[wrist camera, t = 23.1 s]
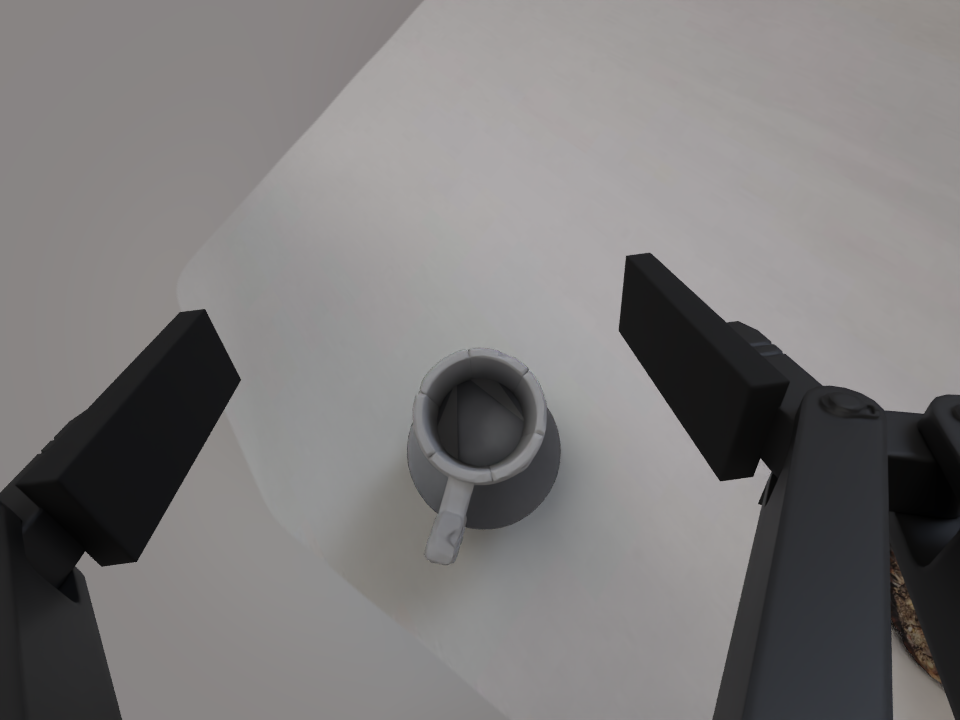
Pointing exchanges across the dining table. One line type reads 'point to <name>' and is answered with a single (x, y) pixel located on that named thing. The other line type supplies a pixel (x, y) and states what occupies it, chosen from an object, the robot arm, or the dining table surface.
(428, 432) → the mug
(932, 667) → the cactus
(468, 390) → the grey round piece
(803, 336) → the dining table surface
